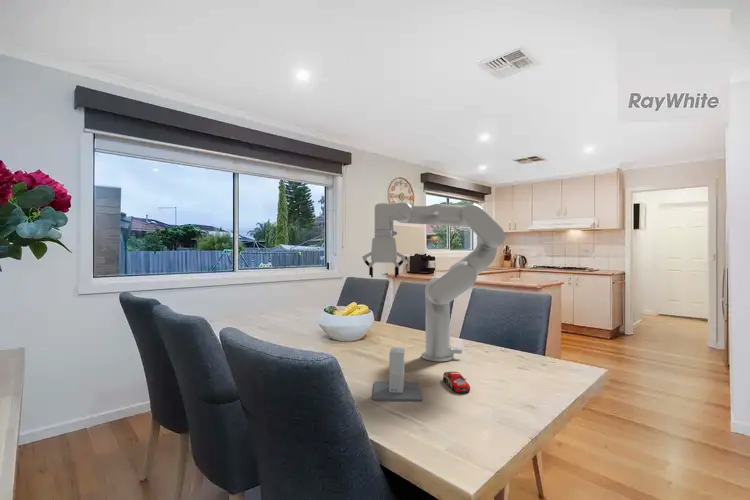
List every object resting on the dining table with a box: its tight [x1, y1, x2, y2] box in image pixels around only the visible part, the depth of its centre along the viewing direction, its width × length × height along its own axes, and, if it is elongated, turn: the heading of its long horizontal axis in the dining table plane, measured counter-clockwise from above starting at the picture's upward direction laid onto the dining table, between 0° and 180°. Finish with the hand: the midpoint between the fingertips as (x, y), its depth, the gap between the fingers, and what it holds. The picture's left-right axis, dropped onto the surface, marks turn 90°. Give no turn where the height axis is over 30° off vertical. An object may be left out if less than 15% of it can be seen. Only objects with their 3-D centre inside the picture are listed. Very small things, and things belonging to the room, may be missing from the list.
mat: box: [372, 380, 423, 402], centre depth 116 cm, size 14×14×1 cm
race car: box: [442, 371, 471, 394], centre depth 121 cm, size 13×5×4 cm, turn 8°
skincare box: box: [388, 347, 405, 393], centre depth 116 cm, size 6×4×12 cm
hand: (383, 277), depth 153 cm, fingers open, 9 cm apart
